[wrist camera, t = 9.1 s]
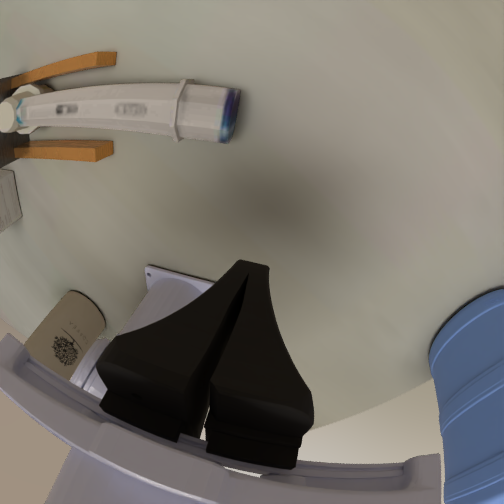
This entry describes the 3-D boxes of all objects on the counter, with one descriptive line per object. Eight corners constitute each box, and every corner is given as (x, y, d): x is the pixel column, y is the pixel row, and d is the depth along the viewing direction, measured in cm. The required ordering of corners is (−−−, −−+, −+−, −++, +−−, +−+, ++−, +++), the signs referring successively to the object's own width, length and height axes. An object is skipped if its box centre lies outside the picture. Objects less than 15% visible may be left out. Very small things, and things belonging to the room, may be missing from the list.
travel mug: (82, 325, 39) (27, 405, 24) (59, 287, 35) (-8, 370, 20) (114, 331, 37) (56, 426, 22) (90, 291, 33) (15, 390, 18)
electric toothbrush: (222, 160, 16) (-17, 147, 15) (236, 139, 22) (24, 128, 21) (237, 78, 13) (-19, 97, 12) (247, 79, 19) (24, 85, 18)
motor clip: (113, 156, 22) (76, 175, 17) (19, 153, 23) (-11, 167, 19) (116, 49, 16) (75, 48, 12) (16, 77, 18) (-16, 86, 13)
